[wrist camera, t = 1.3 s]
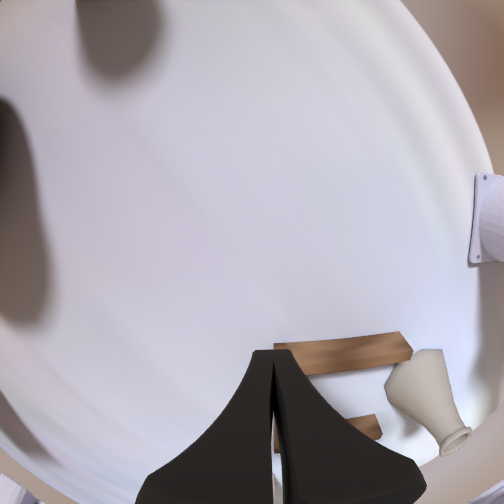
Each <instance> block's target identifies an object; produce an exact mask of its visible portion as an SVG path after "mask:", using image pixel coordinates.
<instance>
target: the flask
mask: <svg viewBox="0 0 504 504" xmlns="http://www.w3.org/2000/svg"><path fill="white" fill-rule="evenodd" d="M385 390H386V393H387V397H388V400H389V402H390V403H392V404H393V405H394V406H396V407H397V408H399V409H400V410H402V411H403V412H405V413H406V414H408V415H409V416H410V417H412V418H413V419H414V420H416V421H417V422H418V423H420V424H421V425H422V426H424V427H425V428H426V429H427V430H428V431H429V432H430V433H431V435H432V436H433V437H434V438H435V439H436V441H437V443H438V445H439V447H440V448H439V454H440V456H445V455H448V454H450V453H452V452H454V451H455V450H457V449H459V448H460V447H462V446H463V445H464V443H466V441H467V440H468V439H469V438H470V437H471V434H472V429H471V428H470V427H466V426H465V425H464V423H463V421H462V420H461V418H460V416H459V413H458V411H457V408H456V405H455V403H454V399H453V394H452V390H451V385H450V381H449V377H448V372H447V367H446V363H445V359H444V355H443V351H442V349H421V350H420V351H418V352H416V353H415V354H413V355H412V357H411V360H409V361H404V362H399V363H397V364H396V365H395V367H394V369H393V371H392V373H391V375H390V377H389V379H388V381H387V383H386V384H385Z"/></svg>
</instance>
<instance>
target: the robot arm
mask: <svg viewBox="0 0 504 504" xmlns="http://www.w3.org/2000/svg"><path fill="white" fill-rule="evenodd" d="M483 178H484V179H483ZM476 258H477V259H476ZM469 261H470V262H471V263H484V262H494V261H501V262H503V263H504V176H500V175H495V174H490V173H485V172H477V174H476V189H475V209H474V221H473V231H472V239H471V247H470V254H469ZM273 412H274V418H275V425H276V431H277V437H278V443H279V449H280V456H281V464H282V484H283V504H413V503H414V502H415V501H416V500H418V499H419V498H420V497H421V495H422V494H423V493H424V492H425V490H426V487H427V485H426V482H425V480H424V478H423V475H422V473H421V471H420V470H419V468H418V466H417V465H416V463H415V462H414V460H413V459H410V458H408V457H406V456H403V455H401V454H399V453H397V452H394V451H392V450H390V449H388V448H386V447H384V446H383V445H381V444H379V443H378V442H376V441H374V440H373V439H371V438H370V437H368V436H367V435H365V434H364V433H362V432H361V431H360V430H358V429H357V428H355V427H354V426H353V425H351V424H350V423H349V422H348V421H347V420H345V419H344V418H343V417H342V416H341V415H340V414H339V413H338V412H337V411H335V410H334V409H333V408H332V407H331V406H330V405H329V404H328V402H327V401H326V400H325V399H324V398H323V397H322V396H321V395H320V394H319V392H318V391H317V390H316V389H315V387H314V386H313V385H312V384H311V382H310V381H309V379H308V378H307V377H306V375H305V374H304V372H303V371H302V369H301V368H300V366H299V365H298V363H297V361H296V359H295V358H294V356H293V354H292V351H291V350H289V349H274V350H255V351H254V352H253V354H252V358H251V361H250V364H249V367H248V369H247V371H246V373H245V375H244V377H243V379H242V381H241V383H240V385H239V387H238V389H237V390H236V392H235V394H234V395H233V397H232V398H231V400H230V401H229V403H228V404H227V406H226V407H225V409H224V410H223V411H222V413H221V414H220V415H219V416H218V418H217V419H216V420H215V421H214V422H213V424H212V425H211V426H210V427H209V428H208V429H207V430H206V431H205V432H204V433H203V434H202V435H201V436H200V437H199V438H198V439H197V440H196V441H195V442H194V443H193V444H191V445H190V446H189V447H188V448H187V449H186V450H184V451H183V452H182V453H181V454H180V455H178V456H177V457H176V458H174V459H173V460H172V461H170V462H169V463H167V464H166V465H164V466H162V467H161V468H159V469H158V470H156V471H155V472H153V473H151V474H150V475H148V476H147V478H146V480H145V481H144V483H143V485H142V487H141V489H140V491H139V493H138V495H137V498H136V502H135V504H274V498H273V478H272V457H271V435H272V422H273ZM0 504H46V503H44V502H42V501H40V500H39V499H37V498H36V497H35V496H34V495H33V494H32V493H31V492H30V491H28V490H27V489H26V488H25V487H23V486H22V485H20V484H19V483H17V482H16V481H14V480H13V479H12V478H10V477H9V476H7V475H6V474H4V473H1V475H0ZM465 504H504V480H502V481H500V482H499V483H497V484H496V485H495V486H493V487H492V488H490V489H488V490H487V491H486V492H484V493H482V494H480V495H479V496H477V497H476V498H474V499H472V500H470V501H469V502H467V503H465Z"/></svg>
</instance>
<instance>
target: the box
mask: <svg viewBox="0 0 504 504" xmlns="http://www.w3.org/2000/svg"><path fill="white" fill-rule="evenodd" d="M274 349H289V350H291V351H292V354H293V356H294V358H295V359H296V361H297V363H298V365H299V366H300V368H301V369H302V371H303V372H304V374H305V375H313V374H324V373H333V372H342V371H350V370H357V369H364V368H371V367H377V366H383V365H388V364H394V363H399V362H404V361H409V360H411V357H412V354H413V349H412V348H411V346H410V345H409V344H408V342H407V341H406V340H405V338H404V337H403V336H402V335H401V333H400V332H399V331H398V332H391V333H384V334H377V335H369V336H361V337H352V338H343V339H333V340H321V341H308V342H293V343H274ZM345 420H347V421H348V422H349V423H350V424H351V425H353V426H354V427H355V428H357V429H358V430H360V431H361V432H362V433H364V434H365V435H367V436H368V437H370V438H371V439H373V440H378V439H380V438H381V436H382V434H383V433H382V431H381V428H380V426H379V423H378V421H377V418H376V416H375V414H373V415H367V416H362V417H357V418H351V419H345ZM273 434H274V454H275V453H280V449H279V443H278V437H277V431H276V425H275V418H274V425H273Z"/></svg>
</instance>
